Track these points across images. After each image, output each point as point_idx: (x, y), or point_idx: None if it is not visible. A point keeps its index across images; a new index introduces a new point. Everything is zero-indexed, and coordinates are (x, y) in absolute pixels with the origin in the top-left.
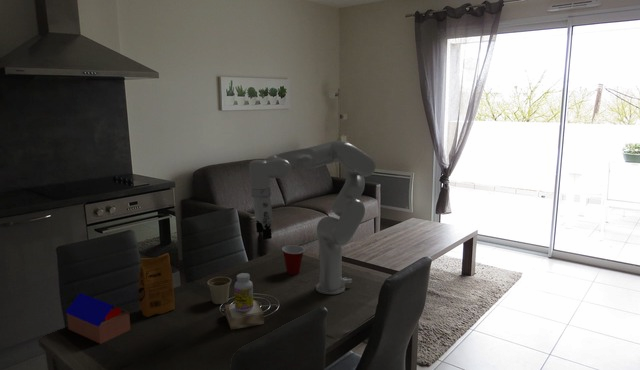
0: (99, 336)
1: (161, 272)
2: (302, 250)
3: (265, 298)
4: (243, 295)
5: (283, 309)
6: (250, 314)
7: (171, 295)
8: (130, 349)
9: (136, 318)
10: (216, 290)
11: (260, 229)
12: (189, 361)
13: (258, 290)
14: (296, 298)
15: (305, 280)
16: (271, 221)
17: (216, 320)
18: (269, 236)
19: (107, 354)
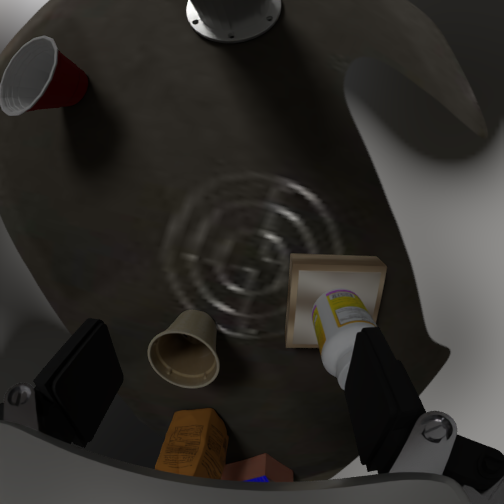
0: (292, 479)
1: None
2: (35, 46)
3: (221, 208)
4: None
5: (321, 179)
6: (375, 300)
7: (209, 434)
8: (331, 450)
9: (227, 446)
10: (212, 364)
11: (104, 372)
12: None
13: (155, 214)
14: (260, 115)
15: (138, 59)
16: (426, 484)
17: (302, 352)
18: (398, 363)
19: (327, 464)
